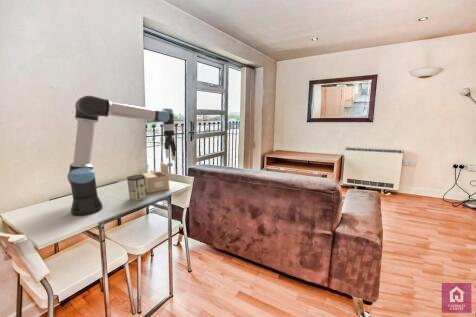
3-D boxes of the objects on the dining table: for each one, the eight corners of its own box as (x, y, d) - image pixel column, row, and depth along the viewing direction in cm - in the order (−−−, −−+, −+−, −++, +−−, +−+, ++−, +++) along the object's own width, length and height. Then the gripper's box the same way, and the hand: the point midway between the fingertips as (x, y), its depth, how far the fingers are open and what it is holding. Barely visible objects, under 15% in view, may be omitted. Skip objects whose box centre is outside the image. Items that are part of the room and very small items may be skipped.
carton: (149, 193, 163) (147, 178, 161) (143, 187, 178) (141, 173, 176) (169, 189, 171) (168, 175, 169) (162, 184, 186) (160, 170, 184)
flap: (167, 164, 168) (176, 163, 172) (160, 161, 182) (169, 160, 186) (167, 175, 169) (176, 174, 173) (160, 170, 183) (169, 170, 187)
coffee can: (134, 195, 160) (132, 174, 158) (149, 195, 159) (147, 174, 157) (126, 200, 150) (123, 178, 148) (141, 200, 149) (139, 178, 147)
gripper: (179, 130, 166) (181, 160, 169) (168, 129, 186) (170, 156, 190) (169, 131, 162) (171, 162, 165) (159, 129, 182) (160, 157, 186)
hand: (170, 159), depth 178 cm, fingers open, 13 cm apart
